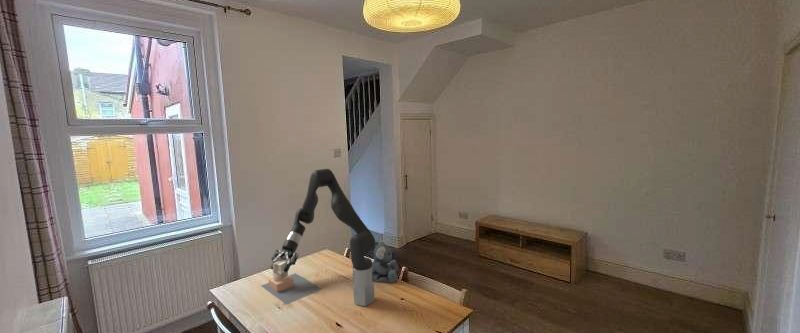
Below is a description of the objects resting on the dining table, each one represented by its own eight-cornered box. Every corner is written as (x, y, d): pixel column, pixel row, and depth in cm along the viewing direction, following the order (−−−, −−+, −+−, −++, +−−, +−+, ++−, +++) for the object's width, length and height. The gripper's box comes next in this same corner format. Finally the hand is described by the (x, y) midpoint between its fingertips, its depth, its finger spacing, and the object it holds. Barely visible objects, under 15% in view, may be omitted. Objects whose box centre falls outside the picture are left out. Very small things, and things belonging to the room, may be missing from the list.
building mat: (322, 289, 163) (322, 288, 163) (286, 305, 149) (286, 304, 149) (295, 274, 182) (295, 273, 182) (260, 286, 168) (260, 285, 168)
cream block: (288, 277, 168) (287, 261, 167) (281, 281, 163) (280, 265, 162) (280, 276, 170) (279, 260, 169) (273, 280, 165) (272, 263, 164)
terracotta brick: (293, 285, 167) (293, 278, 167) (277, 292, 160) (276, 284, 160) (285, 280, 173) (284, 273, 173) (269, 286, 167) (268, 279, 166)
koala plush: (397, 283, 169) (397, 248, 167) (364, 284, 169) (363, 248, 167) (398, 270, 186) (398, 237, 184) (368, 270, 187) (367, 238, 184)
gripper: (278, 237, 174) (263, 265, 164) (299, 240, 169) (285, 269, 159) (285, 243, 179) (271, 271, 170) (306, 246, 174) (293, 275, 165)
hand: (278, 270), depth 165 cm, fingers open, 8 cm apart
